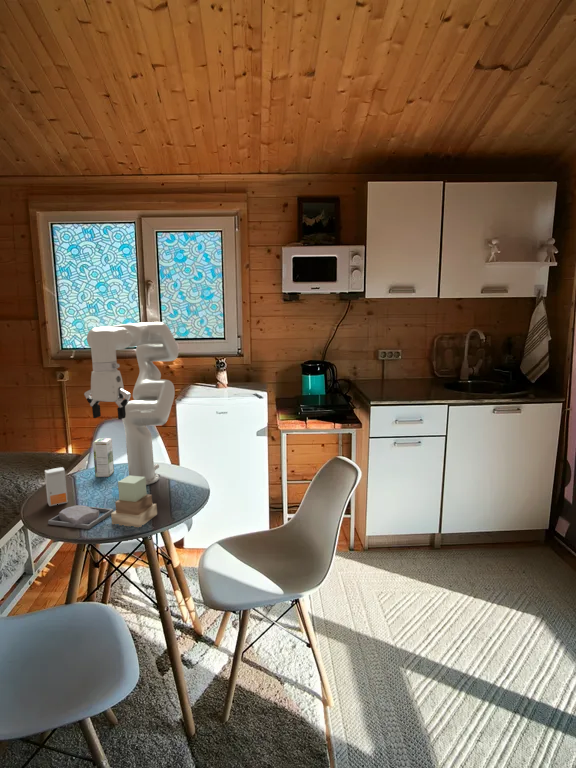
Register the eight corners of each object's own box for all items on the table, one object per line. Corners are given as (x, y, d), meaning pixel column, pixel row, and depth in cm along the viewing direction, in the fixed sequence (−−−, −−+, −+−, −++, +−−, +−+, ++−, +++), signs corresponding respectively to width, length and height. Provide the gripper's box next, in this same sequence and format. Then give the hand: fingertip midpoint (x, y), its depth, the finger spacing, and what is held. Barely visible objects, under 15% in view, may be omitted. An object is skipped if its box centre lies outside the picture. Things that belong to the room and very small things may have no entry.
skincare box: (49, 507, 174) (45, 473, 172) (47, 503, 177) (43, 470, 176) (68, 502, 177) (65, 469, 175) (66, 499, 181) (62, 466, 179)
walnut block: (131, 502, 166) (130, 492, 166) (152, 505, 164) (151, 494, 164) (116, 512, 159) (115, 502, 158) (138, 515, 157) (137, 504, 156)
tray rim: (75, 508, 172) (75, 505, 172) (113, 512, 168) (113, 509, 168) (48, 524, 160) (48, 520, 160) (88, 529, 156) (88, 525, 156)
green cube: (130, 493, 165) (129, 475, 164) (146, 494, 164) (145, 476, 163) (119, 500, 160) (117, 481, 159) (135, 501, 158) (134, 483, 157)
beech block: (130, 512, 169) (129, 501, 168) (157, 515, 166) (156, 503, 165) (112, 525, 159) (111, 513, 158) (140, 528, 156) (139, 516, 156)
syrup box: (100, 472, 208) (97, 438, 206) (114, 472, 208) (111, 437, 206) (95, 477, 203) (91, 442, 200) (109, 477, 202) (106, 441, 200)
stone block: (85, 517, 171) (55, 522, 164) (86, 503, 172) (56, 507, 164) (104, 525, 164) (74, 530, 156) (105, 510, 164) (75, 515, 156)
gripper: (134, 365, 168) (138, 416, 171) (90, 365, 173) (94, 414, 176) (120, 369, 161) (125, 421, 164) (75, 368, 166) (80, 419, 169)
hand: (109, 417), depth 170 cm, fingers open, 9 cm apart
